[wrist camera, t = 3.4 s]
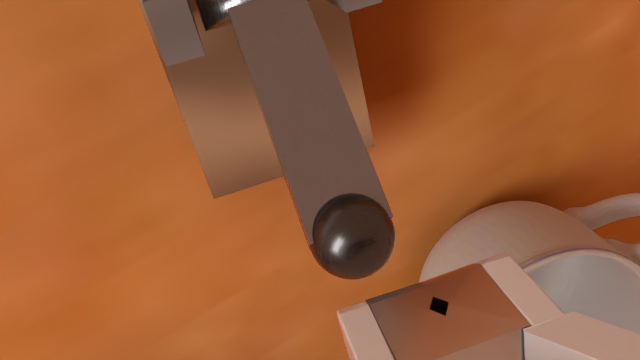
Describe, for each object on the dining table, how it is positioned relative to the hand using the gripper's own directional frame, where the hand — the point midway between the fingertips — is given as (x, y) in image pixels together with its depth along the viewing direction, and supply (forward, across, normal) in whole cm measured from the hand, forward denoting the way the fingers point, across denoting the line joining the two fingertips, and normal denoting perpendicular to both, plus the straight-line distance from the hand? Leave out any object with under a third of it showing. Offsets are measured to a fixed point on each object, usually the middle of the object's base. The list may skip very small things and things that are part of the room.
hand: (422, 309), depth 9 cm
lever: (+10, 0, -4) cm, 10 cm away
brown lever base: (+18, +1, -8) cm, 19 cm away
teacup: (+18, -10, +15) cm, 26 cm away
